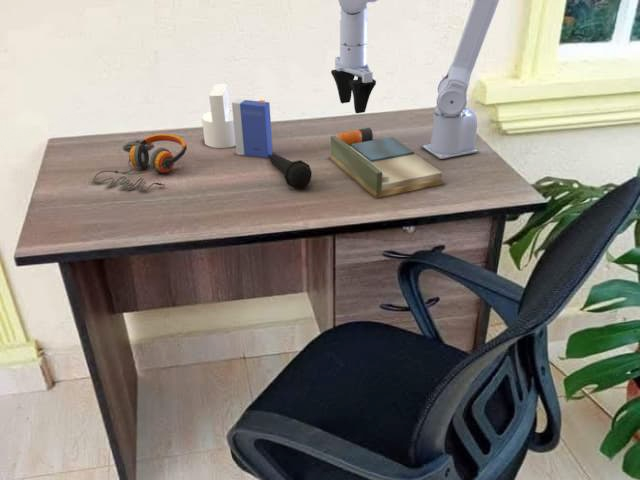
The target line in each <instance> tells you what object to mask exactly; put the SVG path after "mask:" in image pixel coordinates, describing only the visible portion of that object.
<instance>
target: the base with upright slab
mask: <svg viewBox="0 0 640 480" xmlns="http://www.w3.org/2000/svg"><path fill="white" fill-rule="evenodd" d="M208 97H209V107H210V110H209V111H207V112H205V113H203V114H202V115H201V123H202V130H203V138H204V139H203V140H204V144H205V145H206V146H208V147H210V148H216V149H227V148H232V147H236V143H235V132H234V122H233V110H232V109H231V108H230V96H229V87H228V84H227V83H215V84H214V85H213V86H212V88H211V91H210V93H209V95H208Z"/></svg>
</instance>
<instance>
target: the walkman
mask: <svg viewBox="0 0 640 480" xmlns="http://www.w3.org/2000/svg"><path fill="white" fill-rule="evenodd" d="M231 110H233V122H234V132H235V143H236V146H235V151H236V152H235V153H236V155H238V156H239V155H240V156H248V157H256V158H265V159H268V158H269V157H268V155H274V153H273V152H274V151H273V139H272V121H271V120H272V119H271V105H270V102H269V101H266V100H263V99H259V100H249V99H240V98H237V99H235V100H234V101H232V102H231Z"/></svg>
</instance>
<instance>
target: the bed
mask: <svg viewBox="0 0 640 480" xmlns="http://www.w3.org/2000/svg"><path fill="white" fill-rule="evenodd" d="M337 136H338V135H331V136H330V160H331V161H333V163H335V164H336V165H337V166H338V167H340V168H341V170H343V171H344V172H345V173H346V174H347V175H348V176H350V177H351V179H353V180H354V181H356V182H357V183H358V184H359V185H360V186H362V187H363V188H364V189H365V190H366V191H367V192H369V193H370V194H371V195H372V196H373V197H374V198H375V199H377V198H384V197H388V196H393V195H398V194H402V193H407V192H412V191H416V190H422V189H427V188H432V187H436V186H440V185H441V186H442V185H443V182H444V178H443V172H442V171H441V170H439V169H438V168H436V167H435V166H433V165H432V164H431V163H429V162H427V161H426V160H424V159H423V158H422V157H420V156H418V155H417V154H416V153H415V151H414V150H412V149H411V148H409V147H408V146H407V145H405V144H403V143H402V142H401V141H399V140H398V139H396V138H395V137H393V136H390V137H389V136H388V137H383V138H377V139H372V140H371V141H366V142H360V143H354V144H351V145H348V144H346V143H344V142H343V141H342V140H340V139H339V138H338V137H337Z"/></svg>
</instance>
